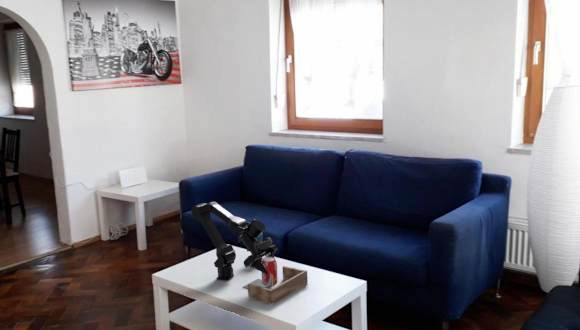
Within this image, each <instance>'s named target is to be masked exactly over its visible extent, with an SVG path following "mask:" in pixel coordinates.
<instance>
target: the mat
mask: <svg viewBox="0 0 580 330" xmlns="http://www.w3.org/2000/svg"><path fill="white" fill-rule="evenodd" d="M248 284H252V285H256V286H260V287H264V288H268V289H271V288H272V287H273V286H265V285H264V284H263V283H262V278H256V279H255V280H253V281H250V282H249V283H247V284H245V285H243V286H242V288H244V289H247V290H248Z"/></svg>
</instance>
